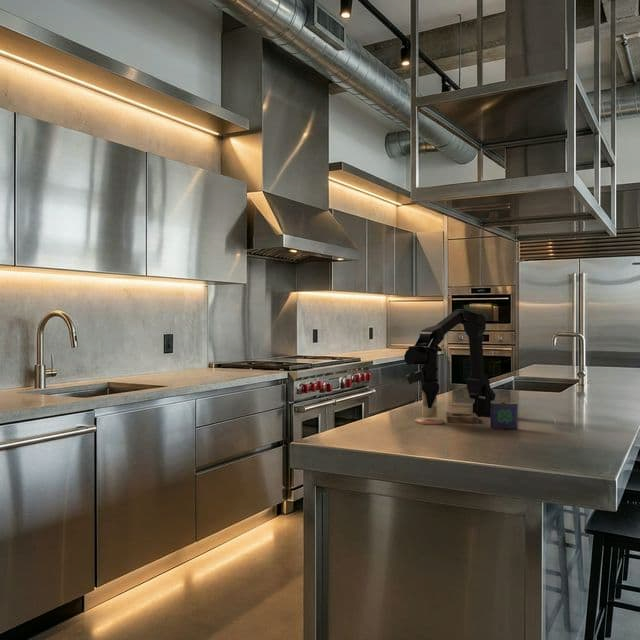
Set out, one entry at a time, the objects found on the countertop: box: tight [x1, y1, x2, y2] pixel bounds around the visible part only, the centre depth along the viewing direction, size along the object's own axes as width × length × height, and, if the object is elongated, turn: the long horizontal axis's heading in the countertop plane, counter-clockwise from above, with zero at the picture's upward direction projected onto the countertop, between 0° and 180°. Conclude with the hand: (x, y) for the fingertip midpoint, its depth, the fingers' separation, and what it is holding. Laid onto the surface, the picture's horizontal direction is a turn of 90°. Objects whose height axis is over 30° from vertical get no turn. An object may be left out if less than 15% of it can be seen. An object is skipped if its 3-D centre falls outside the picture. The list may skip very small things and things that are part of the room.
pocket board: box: [445, 411, 479, 424], centre depth 231 cm, size 11×11×2 cm
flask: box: [489, 397, 519, 431], centre depth 213 cm, size 9×3×11 cm, turn 87°
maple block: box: [421, 391, 438, 418], centre depth 225 cm, size 5×4×9 cm
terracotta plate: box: [414, 417, 444, 426], centre depth 225 cm, size 10×10×1 cm
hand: (429, 407), depth 226 cm, fingers closed on maple block, 4 cm apart
